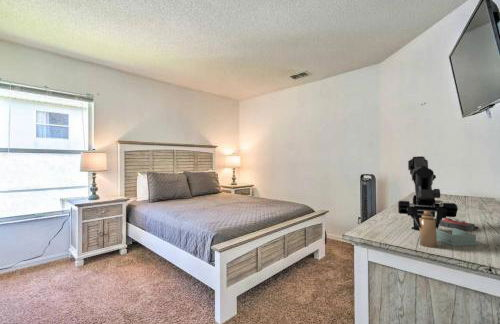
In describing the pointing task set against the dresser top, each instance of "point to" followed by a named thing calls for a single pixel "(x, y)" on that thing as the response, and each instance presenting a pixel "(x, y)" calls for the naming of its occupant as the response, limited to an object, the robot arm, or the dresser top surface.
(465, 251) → the dresser top surface
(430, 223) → the bottle
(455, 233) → the u rest
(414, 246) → the dresser top surface
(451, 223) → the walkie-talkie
